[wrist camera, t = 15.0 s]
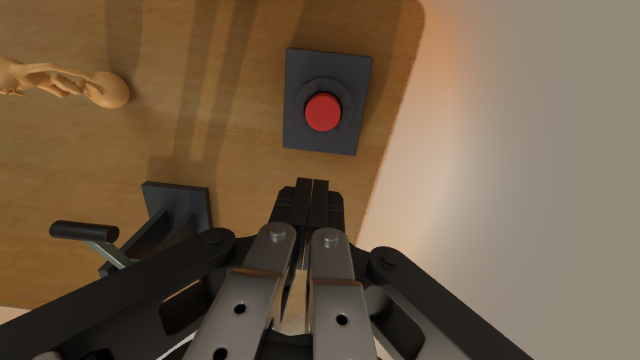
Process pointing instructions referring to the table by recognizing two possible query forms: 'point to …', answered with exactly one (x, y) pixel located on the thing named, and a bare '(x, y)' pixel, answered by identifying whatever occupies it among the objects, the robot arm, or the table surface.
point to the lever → (93, 239)
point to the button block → (324, 77)
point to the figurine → (63, 82)
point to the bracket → (166, 220)
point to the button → (323, 112)
